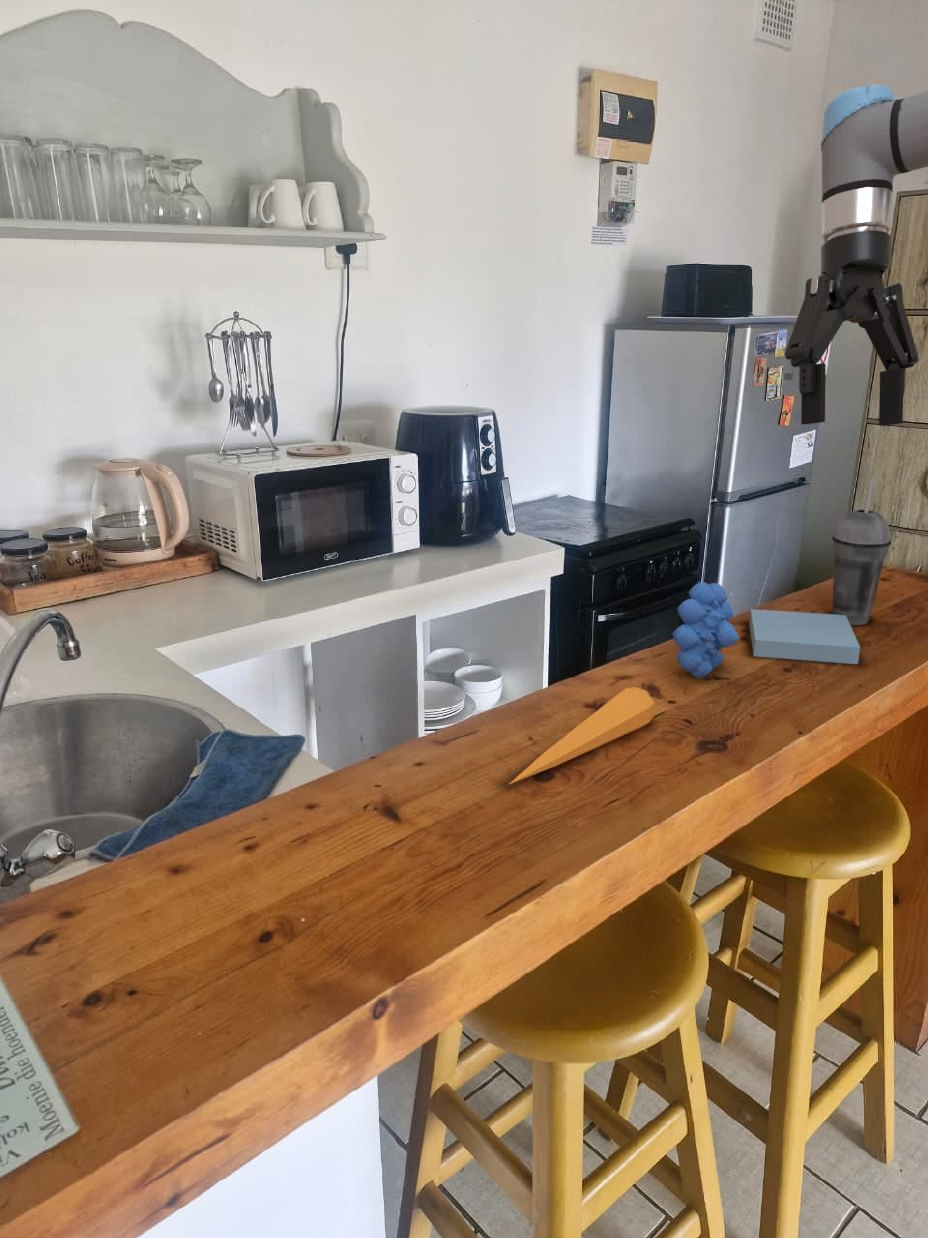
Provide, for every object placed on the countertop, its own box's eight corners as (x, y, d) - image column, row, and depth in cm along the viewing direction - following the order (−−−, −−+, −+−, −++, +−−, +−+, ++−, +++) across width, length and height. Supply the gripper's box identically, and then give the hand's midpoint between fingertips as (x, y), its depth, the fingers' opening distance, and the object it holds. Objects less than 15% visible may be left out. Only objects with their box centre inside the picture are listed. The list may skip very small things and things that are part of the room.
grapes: (710, 703, 95) (719, 599, 91) (656, 687, 100) (662, 587, 96) (756, 671, 103) (766, 575, 99) (703, 658, 108) (711, 565, 104)
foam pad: (843, 632, 115) (845, 615, 115) (857, 666, 104) (860, 647, 104) (749, 626, 118) (750, 608, 118) (753, 658, 107) (755, 639, 107)
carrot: (635, 722, 93) (621, 683, 92) (667, 720, 89) (653, 680, 89) (501, 806, 81) (484, 761, 81) (532, 808, 77) (515, 762, 77)
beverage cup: (874, 614, 122) (895, 472, 115) (883, 632, 115) (906, 482, 109) (819, 611, 124) (836, 471, 117) (824, 628, 117) (843, 480, 111)
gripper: (897, 257, 110) (893, 428, 112) (752, 235, 99) (752, 425, 101) (954, 239, 103) (948, 421, 106) (806, 214, 92) (804, 418, 95)
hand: (853, 424), depth 104 cm, fingers open, 13 cm apart
